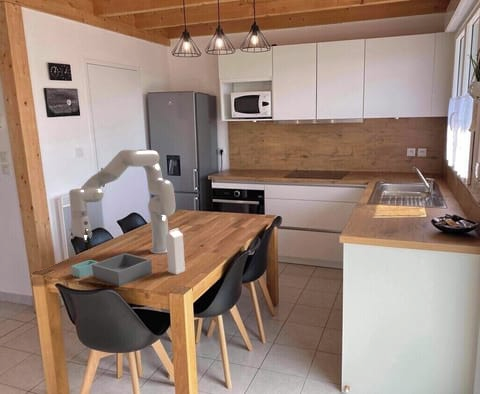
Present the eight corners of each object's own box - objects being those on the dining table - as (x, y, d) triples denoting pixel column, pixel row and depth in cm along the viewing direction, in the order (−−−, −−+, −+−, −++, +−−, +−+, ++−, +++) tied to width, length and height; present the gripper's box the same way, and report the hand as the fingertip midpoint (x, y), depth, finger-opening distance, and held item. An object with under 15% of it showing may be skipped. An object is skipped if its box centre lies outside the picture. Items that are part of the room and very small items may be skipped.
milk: (185, 271, 210) (182, 228, 206) (176, 274, 206) (173, 231, 202) (176, 268, 214) (174, 226, 210) (167, 272, 210) (165, 229, 206)
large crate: (126, 265, 221) (125, 253, 219) (152, 273, 209) (151, 259, 208) (93, 278, 205) (91, 264, 204) (119, 286, 193) (118, 272, 192)
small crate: (91, 268, 218) (90, 259, 217) (99, 271, 214) (98, 261, 213) (72, 275, 209) (70, 266, 208) (80, 278, 205) (79, 268, 204)
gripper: (96, 214, 204) (99, 248, 207) (75, 210, 214) (78, 243, 217) (82, 217, 198) (85, 252, 201) (62, 213, 208) (65, 246, 211)
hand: (82, 247), depth 209 cm, fingers open, 9 cm apart
